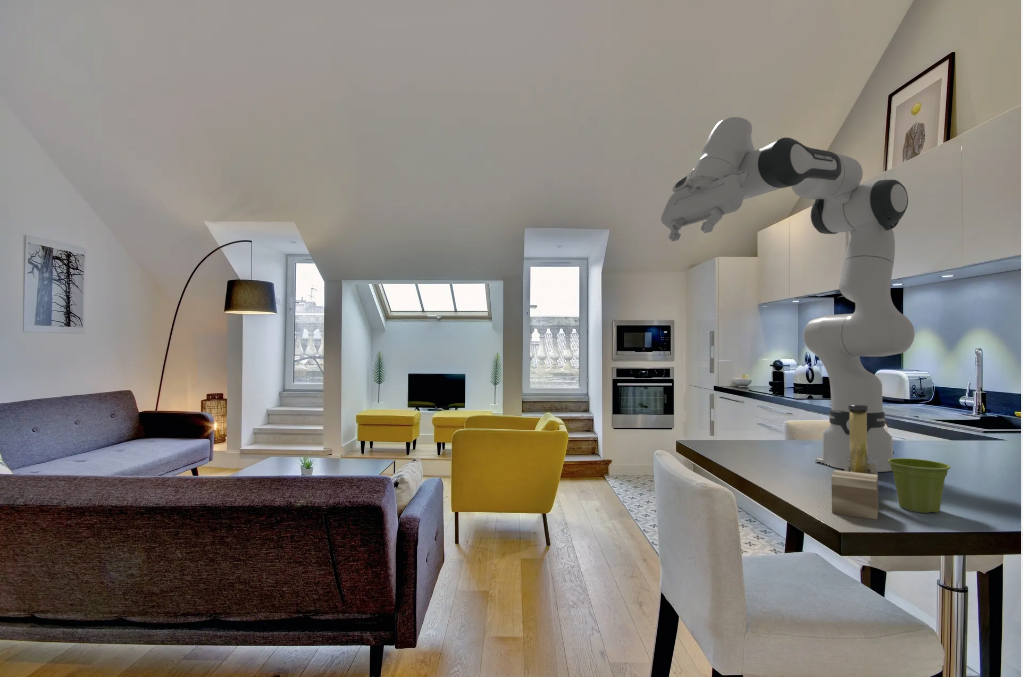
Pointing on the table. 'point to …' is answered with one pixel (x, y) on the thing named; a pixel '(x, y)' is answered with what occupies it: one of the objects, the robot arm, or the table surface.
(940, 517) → the table surface
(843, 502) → the socket block
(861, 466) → the slip tube
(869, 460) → the sleeve
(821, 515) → the table surface
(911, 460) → the plant pot
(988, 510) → the table surface
